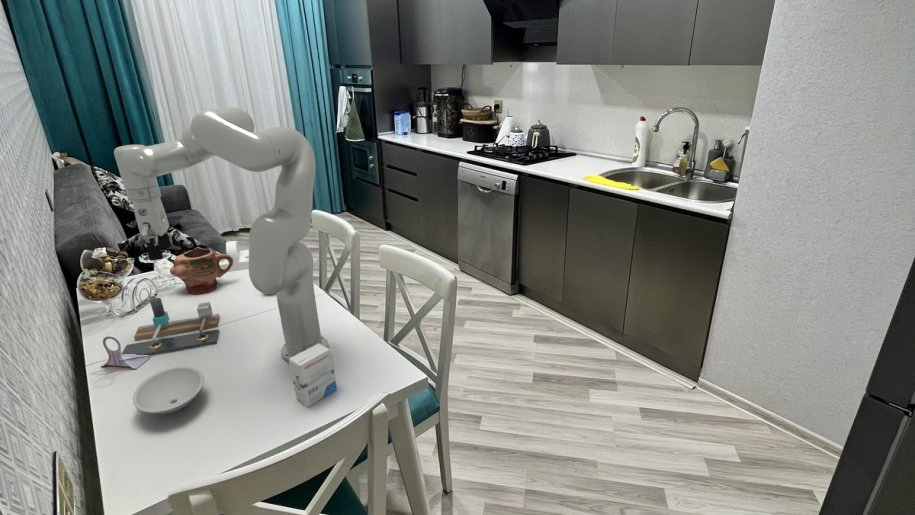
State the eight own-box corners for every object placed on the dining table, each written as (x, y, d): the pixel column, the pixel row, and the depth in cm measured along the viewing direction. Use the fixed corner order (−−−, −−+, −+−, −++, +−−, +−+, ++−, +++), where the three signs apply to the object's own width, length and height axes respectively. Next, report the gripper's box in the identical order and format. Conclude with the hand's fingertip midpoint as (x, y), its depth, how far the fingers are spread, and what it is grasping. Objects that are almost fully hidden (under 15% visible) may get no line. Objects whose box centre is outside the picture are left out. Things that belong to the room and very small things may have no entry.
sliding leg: (160, 342, 132) (152, 315, 129) (148, 344, 132) (139, 317, 128) (170, 322, 143) (162, 296, 140) (159, 323, 142) (151, 298, 139)
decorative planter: (235, 275, 179) (228, 241, 174) (239, 287, 169) (232, 251, 164) (176, 288, 170) (166, 252, 165) (176, 301, 160) (166, 264, 155)
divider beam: (214, 339, 137) (209, 319, 135) (127, 354, 131) (121, 334, 128) (220, 317, 149) (215, 299, 146) (140, 330, 142) (134, 312, 140)
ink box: (325, 381, 117) (319, 341, 113) (337, 389, 114) (331, 348, 110) (295, 399, 111) (287, 357, 106) (307, 408, 108) (299, 365, 104)
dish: (138, 395, 114) (132, 378, 112) (204, 375, 121) (199, 358, 119) (138, 440, 100) (131, 421, 98) (212, 414, 107) (207, 396, 105)
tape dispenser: (260, 268, 186) (255, 242, 182) (210, 275, 181) (204, 249, 177) (261, 259, 195) (256, 235, 191) (213, 266, 189) (207, 241, 185)
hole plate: (216, 343, 134) (215, 340, 134) (120, 361, 128) (118, 357, 127) (219, 331, 141) (218, 328, 140) (127, 347, 134) (126, 344, 133)
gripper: (151, 199, 117) (169, 262, 124) (166, 184, 132) (182, 241, 139) (116, 202, 115) (136, 266, 121) (136, 187, 130) (153, 245, 137)
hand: (161, 253), depth 130 cm, fingers open, 9 cm apart
